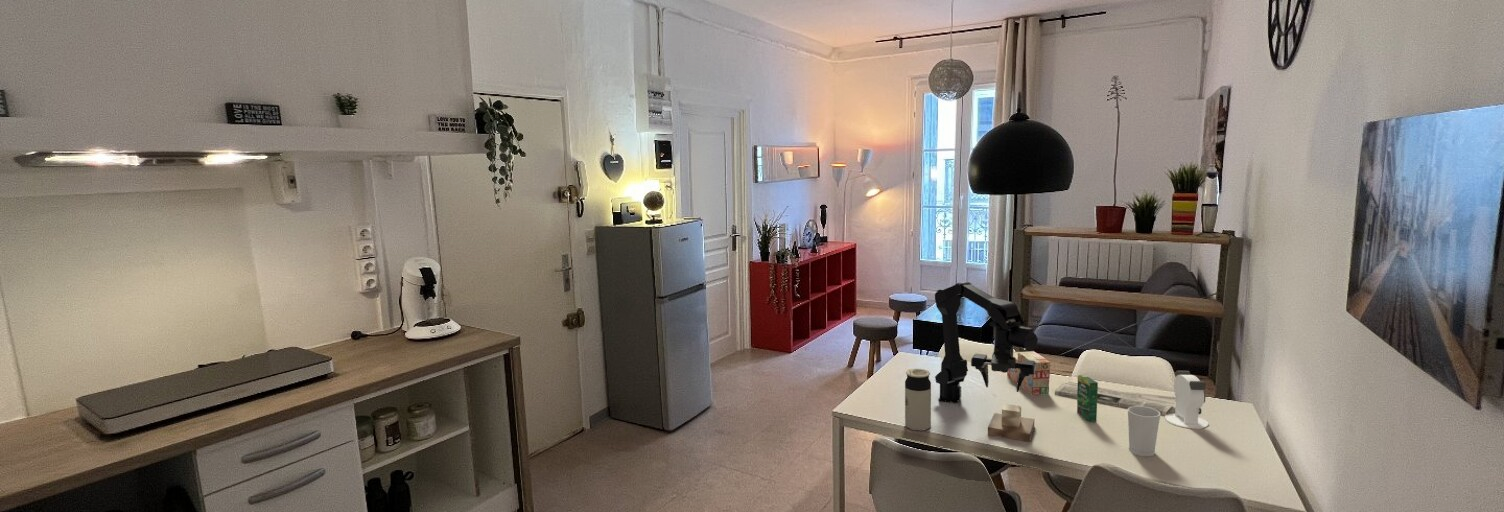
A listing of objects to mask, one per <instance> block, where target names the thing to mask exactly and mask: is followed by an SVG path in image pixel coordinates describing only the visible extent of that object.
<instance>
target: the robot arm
mask: <svg viewBox="0 0 1504 512" xmlns="http://www.w3.org/2000/svg"><path fill="white" fill-rule="evenodd" d="M963 298H966V300H969V302H972V303H974V304H975V305H977V306H978V307H980V308H982V309H984V310H985V311H986V313H987V314H988V316H989V317H990V318H991V319H992V321H991V322H990V323H989V324H988V325H989V326H990V327H992V328H994V338H993V339H994V342H993V345H994V346H993V352H992V355H991V358H988V354H984V353H975V354H973V355H972V357H971V360H970V365H971V367H972V368H973V367H974V368H975V370H978V371H979V372H980V374H981V376H982V379H983V381H984V385H985V387H986V388H988V387H989V381H990V380H989V366H991V371H993V372H1000V373H1006V374H1007V372H1008V369H1011V368H1012V369H1014V368H1018V369H1020V373H1019V379H1018V384H1017V383H1016V384H1017V385H1016V392H1017V393H1019V391H1020V388H1021V384H1022V381H1023V380H1024V378H1025V376H1029V375H1030V374H1031V375H1032V374H1034V373H1035V370H1036V362H1035V361H1031V360H1024V359H1023V360H1022V362H1021V363H1020V362H1016V359H1015V357H1013V352H1014V348H1019V349H1021V350H1024V351H1026V352H1030V351H1034V350H1035V348H1036V347H1037V345H1038V337H1037V335H1036V333H1035V332H1034V328H1032V327H1026V322H1025V320H1024V319H1023V317H1022V315H1021V313H1020V311H1019V309H1018V306H1017V304H1016V303H1014V302H1013V301H1009V300H1005V299H1001V298H1000V299H999V298H997V297H994V296H993V295H991V294H989V293H988V292H985V291H983V290H982V289H980V288H979V287H977V286H975V285H973V283H971V282H970V281H962V282H957V283H955V284H954V285H952V286H949V287H947V288H942V289H938V290H937V291H936V292H935V293H934V302H935V306H936V309H937V310H938V312H939V313H940V315H941V321H942V323H941V324H942V333H943V334H942V335H943V344H944V345H943V346H944V347H943V348H944V356H943V358H942V362H941V364H940V365H941V367H940V372H938V373H937V374H936V375H935V376H934V379H935V383H936V384H939V397H938V401H940V402H946V403H954V404H957V403H958V402H959V401H960V400H961V398H962V386H960V385H961V383H963V382H964V381H965V378H966V376H967V375H968V372H969V369H968V360H967V359H964V358H963V357H962V356H961V352H960V351H961V349H960V339H959V329H958V328H959V327H958V325H959V324H958V316H957V314H958V311H959V309H960V307H961V299H963Z"/></svg>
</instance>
